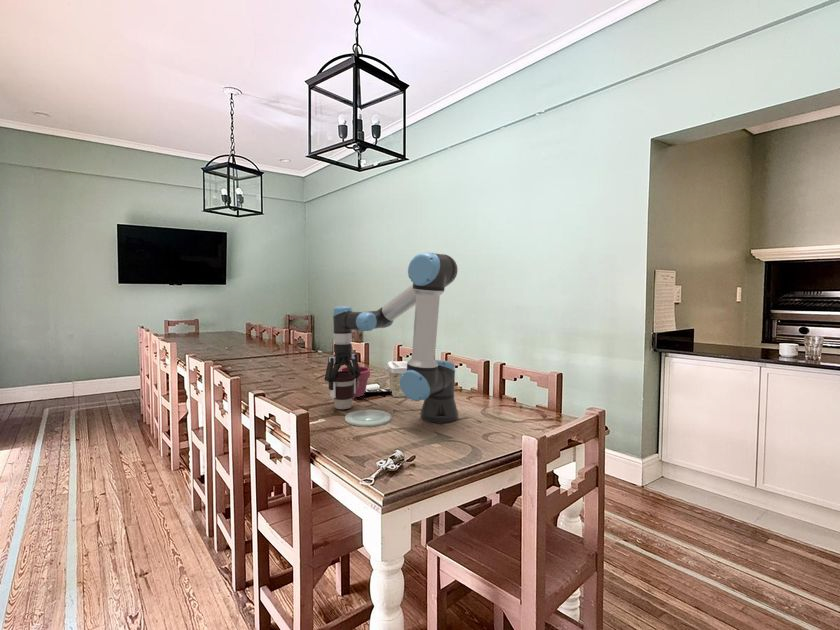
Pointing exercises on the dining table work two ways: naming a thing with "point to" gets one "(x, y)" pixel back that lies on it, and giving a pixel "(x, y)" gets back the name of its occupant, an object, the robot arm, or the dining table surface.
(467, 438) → the dining table surface
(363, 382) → the plant pot
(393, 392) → the storage basket
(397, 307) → the robot arm
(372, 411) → the dish
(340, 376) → the coffee cup
